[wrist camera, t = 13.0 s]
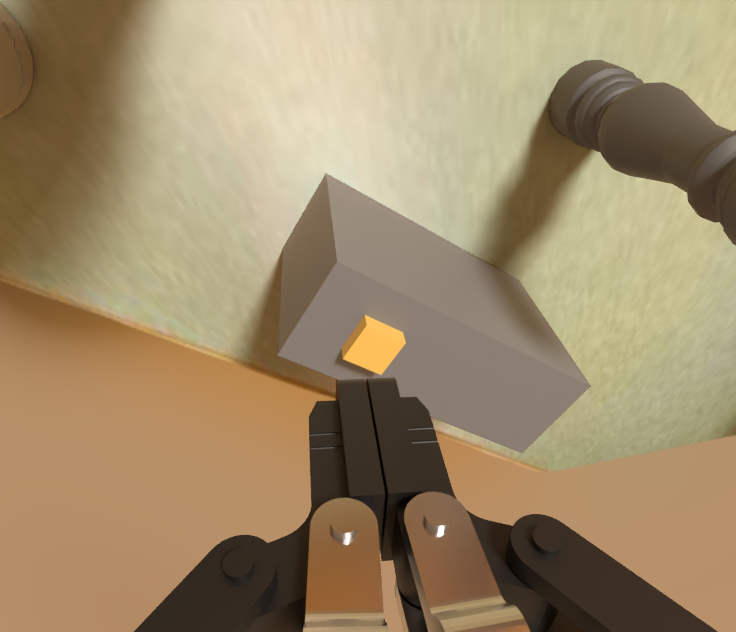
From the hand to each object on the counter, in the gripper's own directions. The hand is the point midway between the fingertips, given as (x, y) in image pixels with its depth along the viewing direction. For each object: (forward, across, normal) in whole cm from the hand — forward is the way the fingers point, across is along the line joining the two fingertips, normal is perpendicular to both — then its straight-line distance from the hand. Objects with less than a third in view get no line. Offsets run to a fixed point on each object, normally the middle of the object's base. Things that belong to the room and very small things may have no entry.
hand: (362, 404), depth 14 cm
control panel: (+35, -9, +15) cm, 39 cm away
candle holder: (+35, -22, 0) cm, 41 cm away
